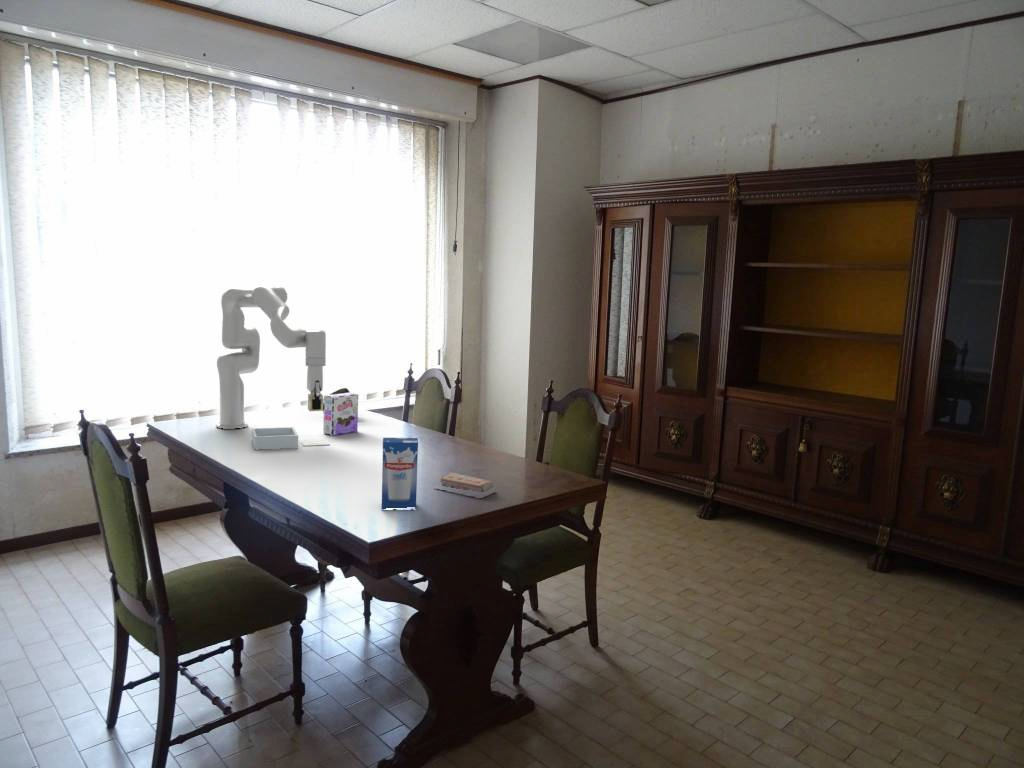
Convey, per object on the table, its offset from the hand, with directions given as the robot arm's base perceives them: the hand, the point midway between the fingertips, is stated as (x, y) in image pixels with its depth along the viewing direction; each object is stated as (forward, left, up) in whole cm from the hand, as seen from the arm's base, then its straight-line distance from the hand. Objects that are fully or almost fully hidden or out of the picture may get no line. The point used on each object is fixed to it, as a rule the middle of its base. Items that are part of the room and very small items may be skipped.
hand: (315, 407), depth 288 cm
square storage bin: (0, -15, -14) cm, 21 cm away
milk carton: (+87, +12, -14) cm, 89 cm away
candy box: (-17, +13, -14) cm, 26 cm away
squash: (-49, +18, -14) cm, 54 cm away
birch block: (0, 0, -1) cm, 1 cm away
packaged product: (+75, +36, -15) cm, 85 cm away
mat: (0, 0, -14) cm, 14 cm away
